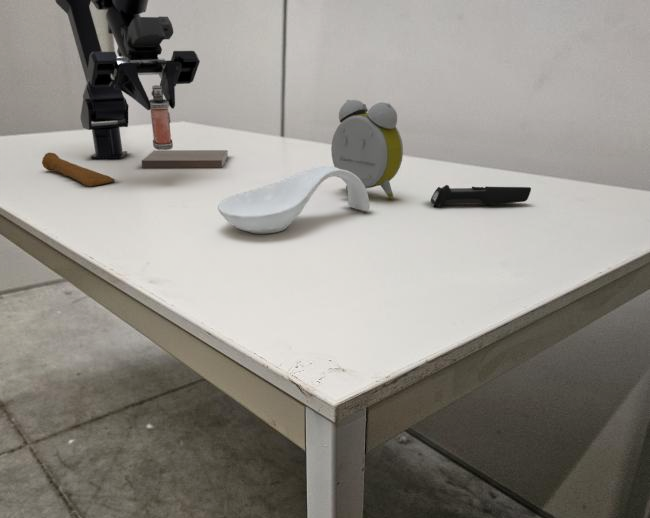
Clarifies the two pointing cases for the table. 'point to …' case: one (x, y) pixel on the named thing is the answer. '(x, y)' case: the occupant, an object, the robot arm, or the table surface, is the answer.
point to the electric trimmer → (480, 195)
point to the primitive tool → (74, 171)
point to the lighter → (160, 120)
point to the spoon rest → (286, 200)
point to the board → (185, 159)
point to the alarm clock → (368, 143)
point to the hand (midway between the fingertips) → (161, 107)
